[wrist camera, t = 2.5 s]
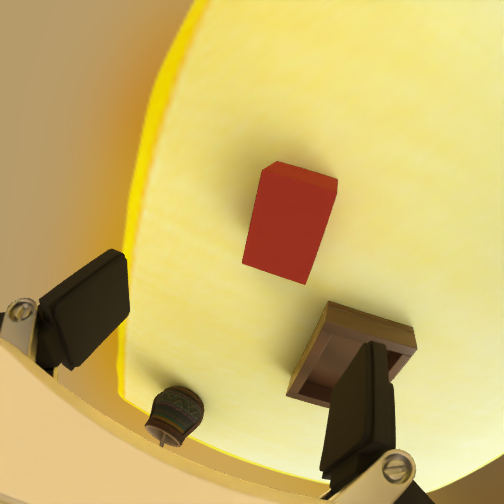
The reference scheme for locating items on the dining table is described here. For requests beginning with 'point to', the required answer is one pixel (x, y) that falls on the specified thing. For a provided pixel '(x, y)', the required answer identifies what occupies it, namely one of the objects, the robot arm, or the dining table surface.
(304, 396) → the brown shallow rectangular box
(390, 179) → the dining table surface
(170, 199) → the dining table surface
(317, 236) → the red block
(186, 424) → the mate gourd
